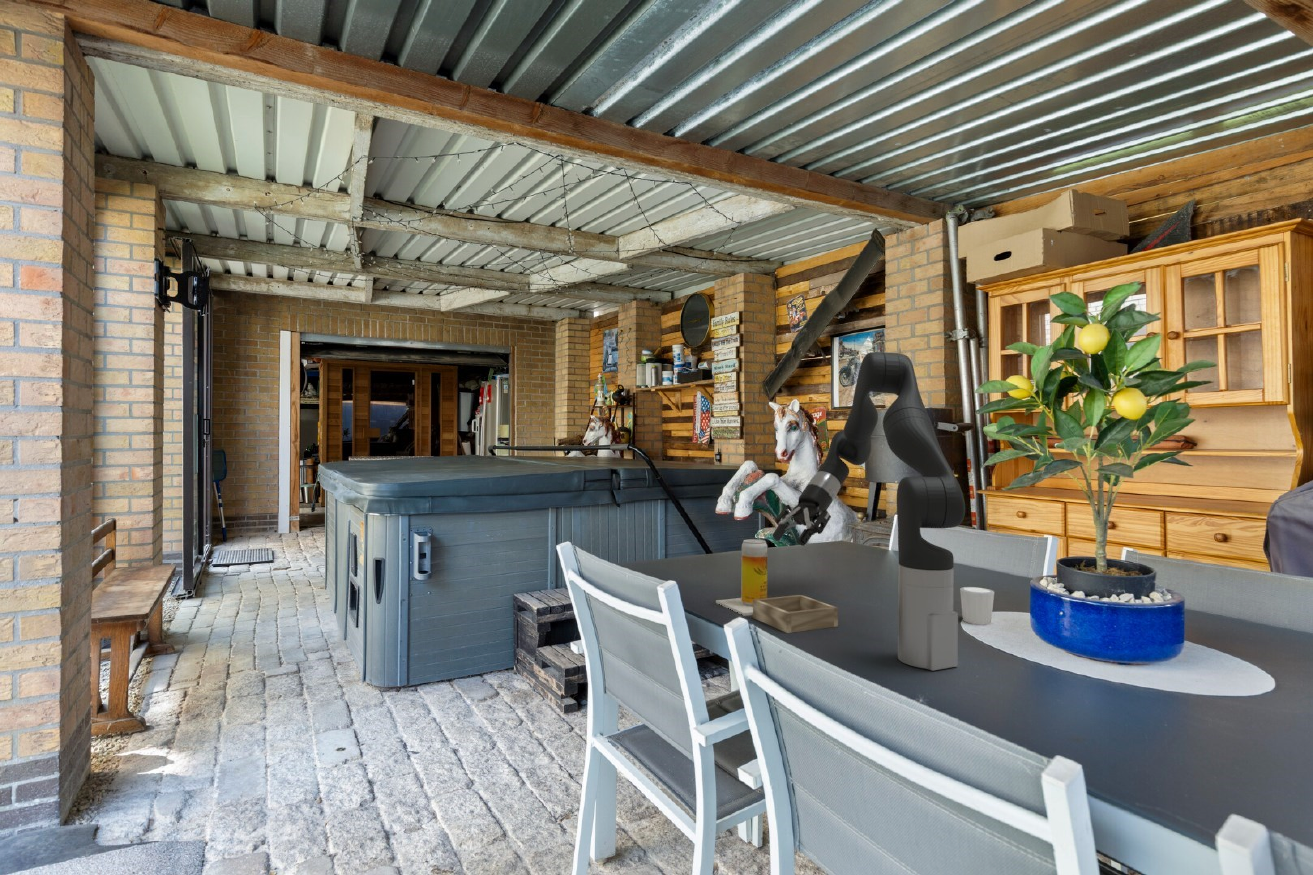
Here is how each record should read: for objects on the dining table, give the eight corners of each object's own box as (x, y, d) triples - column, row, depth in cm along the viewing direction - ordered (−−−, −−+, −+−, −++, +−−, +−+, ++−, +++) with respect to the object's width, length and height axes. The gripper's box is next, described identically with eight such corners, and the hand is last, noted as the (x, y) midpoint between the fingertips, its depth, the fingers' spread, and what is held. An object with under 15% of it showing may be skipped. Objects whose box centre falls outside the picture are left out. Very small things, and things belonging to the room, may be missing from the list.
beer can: (766, 607, 157) (766, 543, 157) (740, 606, 158) (740, 542, 159) (767, 601, 163) (767, 539, 163) (742, 600, 164) (742, 538, 164)
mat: (792, 610, 157) (792, 607, 157) (744, 615, 152) (744, 613, 152) (761, 598, 169) (761, 595, 169) (715, 602, 164) (715, 600, 164)
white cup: (987, 617, 153) (987, 586, 153) (999, 626, 146) (999, 593, 146) (955, 616, 153) (955, 585, 153) (966, 624, 146) (966, 592, 146)
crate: (837, 626, 144) (837, 607, 144) (787, 633, 139) (787, 613, 139) (800, 611, 156) (800, 594, 156) (752, 617, 151) (753, 599, 151)
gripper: (792, 481, 178) (759, 527, 172) (834, 484, 166) (801, 534, 160) (806, 500, 181) (774, 547, 175) (848, 505, 169) (816, 555, 163)
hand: (787, 541), depth 167 cm, fingers open, 8 cm apart
